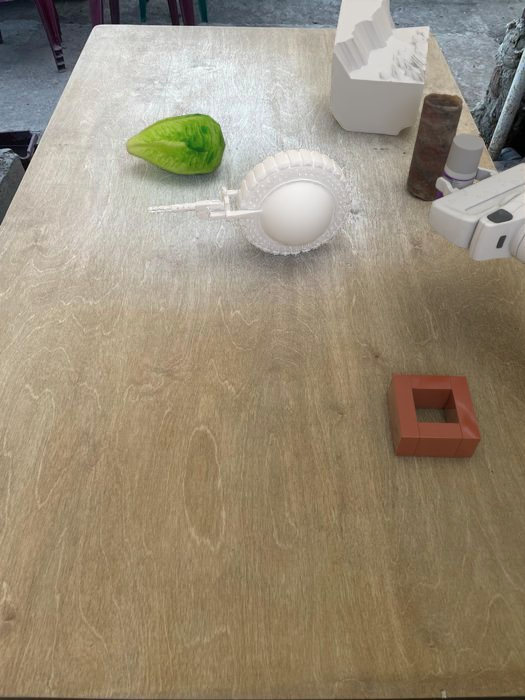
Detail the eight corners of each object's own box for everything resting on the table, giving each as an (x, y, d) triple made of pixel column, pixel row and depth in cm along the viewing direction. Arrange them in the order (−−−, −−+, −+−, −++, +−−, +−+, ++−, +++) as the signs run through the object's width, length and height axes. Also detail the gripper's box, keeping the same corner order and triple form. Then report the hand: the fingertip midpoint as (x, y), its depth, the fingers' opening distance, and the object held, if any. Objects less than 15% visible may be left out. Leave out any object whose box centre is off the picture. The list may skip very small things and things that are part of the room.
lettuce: (135, 151, 136) (127, 99, 127) (227, 152, 137) (225, 100, 128) (127, 189, 127) (117, 136, 118) (225, 189, 128) (223, 137, 119)
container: (429, 214, 103) (452, 131, 91) (458, 218, 102) (485, 135, 91) (428, 232, 100) (452, 148, 88) (458, 236, 99) (485, 152, 88)
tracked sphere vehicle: (158, 290, 109) (143, 195, 93) (153, 237, 118) (139, 142, 103) (352, 269, 113) (368, 175, 98) (333, 220, 122) (345, 126, 107)
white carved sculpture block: (420, 93, 150) (442, 1, 127) (414, 146, 144) (437, 61, 121) (336, 85, 152) (343, -6, 129) (327, 137, 147) (332, 52, 123)
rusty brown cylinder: (398, 192, 128) (418, 99, 113) (413, 175, 132) (435, 84, 117) (432, 205, 126) (457, 112, 110) (447, 188, 130) (473, 96, 114)
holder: (457, 395, 95) (466, 375, 91) (471, 457, 88) (481, 438, 84) (386, 394, 95) (392, 374, 91) (395, 456, 88) (401, 437, 84)
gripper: (581, 181, 89) (508, 136, 96) (479, 229, 81) (408, 176, 89) (564, 217, 93) (495, 172, 101) (466, 265, 86) (399, 213, 93)
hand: (453, 174), depth 95 cm, fingers closed on container, 4 cm apart
